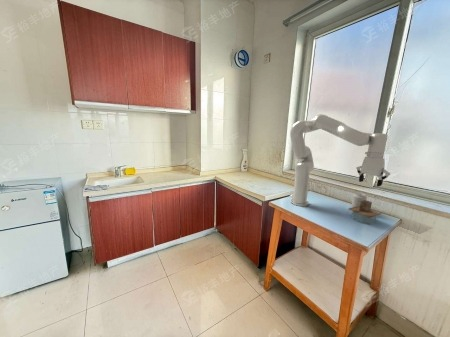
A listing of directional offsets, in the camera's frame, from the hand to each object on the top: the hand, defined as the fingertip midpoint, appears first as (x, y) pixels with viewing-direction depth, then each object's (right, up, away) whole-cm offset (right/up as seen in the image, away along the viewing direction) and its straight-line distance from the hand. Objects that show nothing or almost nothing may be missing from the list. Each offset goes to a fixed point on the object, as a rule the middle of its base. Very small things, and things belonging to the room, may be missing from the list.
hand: (369, 183), depth 112 cm
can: (+5, -20, +18) cm, 27 cm away
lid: (0, -18, +4) cm, 18 cm away
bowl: (0, -23, +5) cm, 23 cm away
